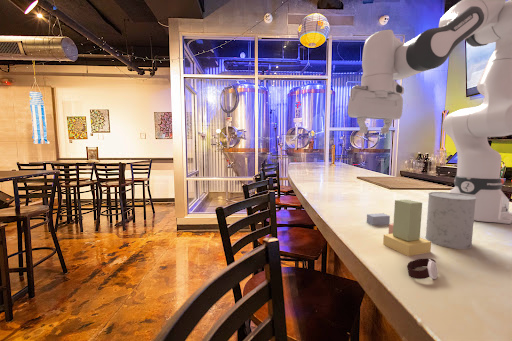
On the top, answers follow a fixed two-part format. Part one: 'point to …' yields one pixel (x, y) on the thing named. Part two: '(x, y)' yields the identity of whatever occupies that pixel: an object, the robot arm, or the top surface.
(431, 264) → the watch
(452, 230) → the speckled grey cylinder
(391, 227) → the terracotta brick
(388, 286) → the top surface
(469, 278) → the top surface
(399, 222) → the olive brick
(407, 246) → the ochre slab
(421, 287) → the top surface
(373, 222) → the slate brick
